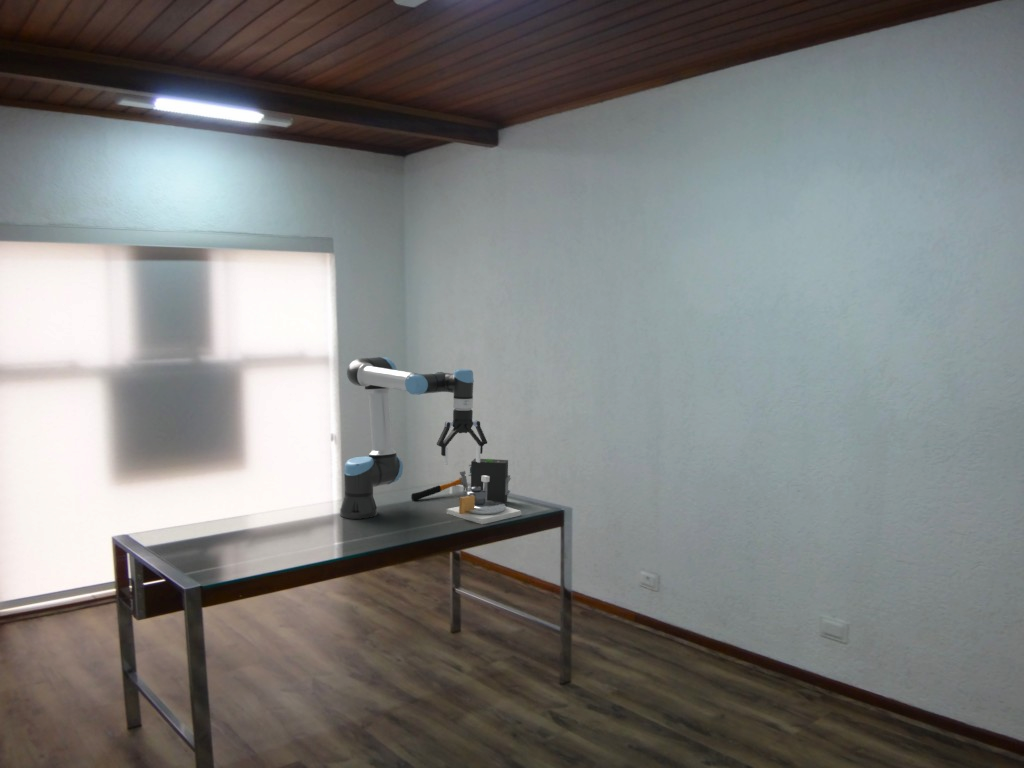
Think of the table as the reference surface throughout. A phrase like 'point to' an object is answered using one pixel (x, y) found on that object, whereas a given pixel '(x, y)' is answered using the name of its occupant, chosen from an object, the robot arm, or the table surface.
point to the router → (491, 478)
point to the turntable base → (485, 518)
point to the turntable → (479, 506)
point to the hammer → (442, 487)
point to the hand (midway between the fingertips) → (461, 463)
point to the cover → (477, 495)
